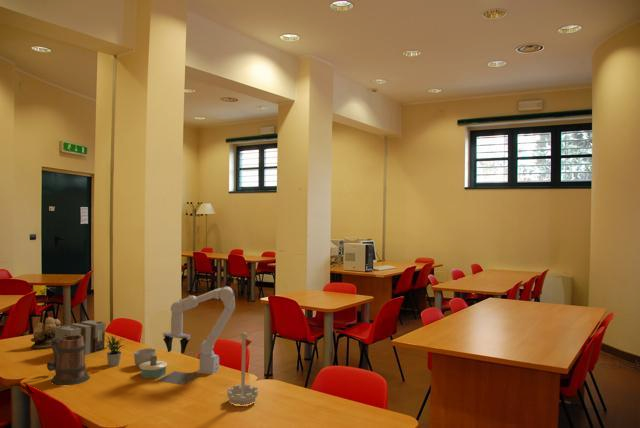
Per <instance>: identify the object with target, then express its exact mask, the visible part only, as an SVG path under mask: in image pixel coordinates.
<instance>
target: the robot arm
mask: <svg viewBox="0 0 640 428" xmlns="http://www.w3.org/2000/svg"><path fill="white" fill-rule="evenodd" d="M211 299H215V300H221V302H222V303H223V306H224V309H223V310H222V312H221V314H220V315H219V318H218V319H217V321H216V322H215V324H214V325H213V328H212V329H211V330H210V333H209V334H208V335H207V337H206V338H205V339H204V340H203V341H202V342H201V345H200V347H199V365H198V367H199V369H198V370H196V371H195V373H196V374H197V373H198V374H205V375H206V374H207V375H214V374H215V373H217V372H219V371H220V370H221V369H220V356H219V355H218V354H215V351H214V350H213V349H214V347H215V343H216V341H218V338H219V337H220V335H221V332H222V331H223V329H224V328H225V327H226V324H227V323H228V321H229V319H230V318H231V316H232V314H233V313H234V311H235V309H236V301H235V300H236V299H235V292H234V290H233V288H232V287H230V286H223V287H219V288H215V289H213V290H209V291H208V292H206V293H203V294H200V295H198V296H195V295H191V294H190V295H188V296H187V297H185V298H183V299H182V298H180V299H178V300H176V301H174V302H173V303H172V304H171V306H170V312H171V318H170V332H167V331H165V332H163V333H162V337H163V341H164V343H165V346H166V350H167V352H168V353H170V352H172V350H173V349H172V347H173V346H172V345H173V340H174V339H180V340H179V342H180V343H179V344H180V354H184V353H185V352H186V348H187V346H188V344H189V341H190V339H191V334H187V333H183V328H184V314H183V312H184V311H188V310H190V309H193V308H196V307H198V305H199V303H202V302H206V301H208V300H211Z"/></svg>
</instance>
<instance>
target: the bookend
mask: <svg viewBox="0 0 640 428" xmlns="http://www.w3.org/2000/svg"><path fill="white" fill-rule="evenodd" d="M60 326H61V325H60ZM105 332H106V322H104V321H97V320H91V319H89V320H85V321H80V323H77V322H75V323H71V324H70V325H62V326H61V327H56V328H55V340H57V339H60V338H61V337H65V336H74V335H81V336H83V339H84V344H85V356H88V355H91V353H97V352H101V351H104V350H103V348H105V343H106V342H105V341H106V339H105V337H106V333H105ZM99 338H102V339H99Z"/></svg>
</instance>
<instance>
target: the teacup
mask: <svg viewBox="0 0 640 428" xmlns="http://www.w3.org/2000/svg"><path fill="white" fill-rule="evenodd" d="M133 356H134V363H135V366H136V367H138V368H139V365H140V364H142V363H144V362H148V361H150V357H151V356H157V349H155V348H152V347H147V348H140V349H138V350H135V351H134V352H133Z"/></svg>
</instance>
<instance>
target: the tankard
mask: <svg viewBox="0 0 640 428" xmlns="http://www.w3.org/2000/svg"><path fill="white" fill-rule="evenodd" d="M51 349H52V352H53V356H54V357H53V360H51V361H47V363H46V368H47V370H48V371H49V372H52V371H54V372H55V375H54V376H53V377H52V379H51V380H50V381H51V383H53V384H56V385H55V386H57V385H69V386H75V384H76V385H80V384H83V383H86V382H88V380H90V378H91V377H90V375H88V372H87V371H86V365H87V364H86V360H85V359H86V357H85V356H86V355H85V344H84V339H83V336H81V335H74V336H65V337H61V338H60V339H57V340H53V341H52V348H51ZM51 383H50V384H51ZM53 384H52V385H53Z"/></svg>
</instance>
